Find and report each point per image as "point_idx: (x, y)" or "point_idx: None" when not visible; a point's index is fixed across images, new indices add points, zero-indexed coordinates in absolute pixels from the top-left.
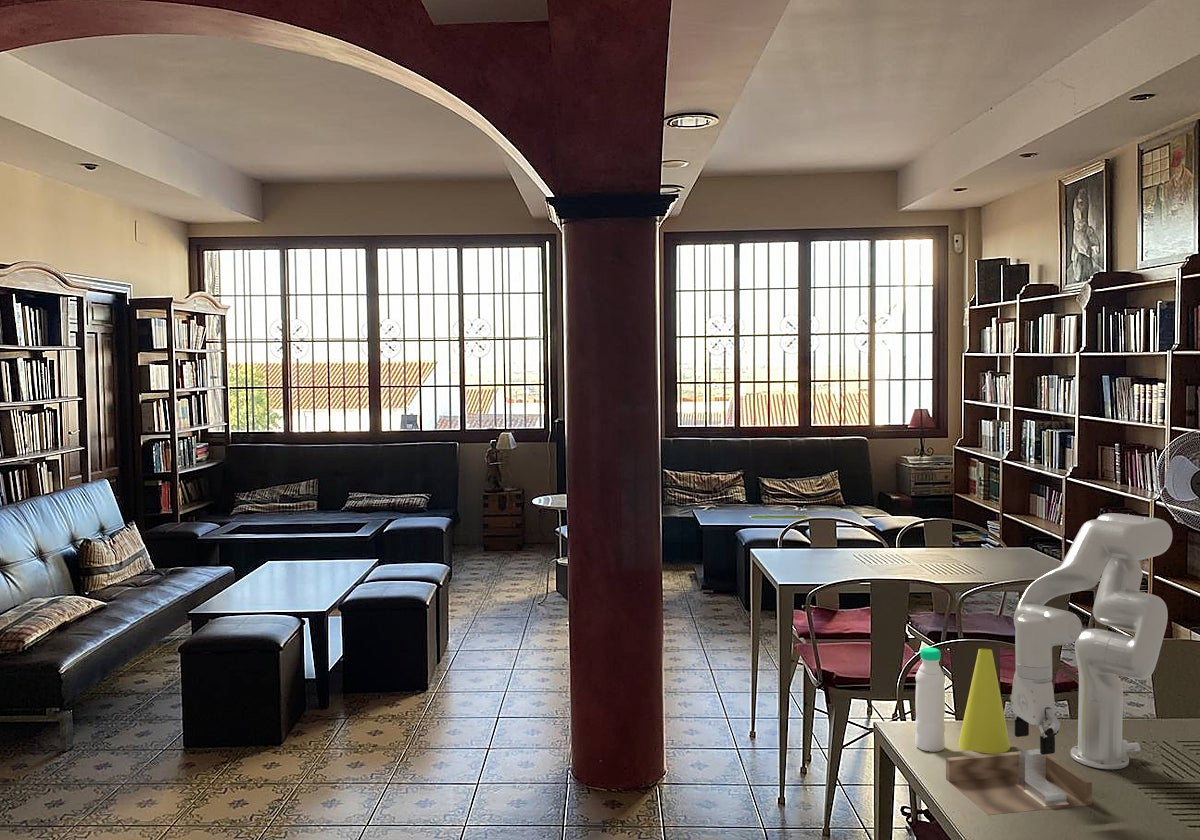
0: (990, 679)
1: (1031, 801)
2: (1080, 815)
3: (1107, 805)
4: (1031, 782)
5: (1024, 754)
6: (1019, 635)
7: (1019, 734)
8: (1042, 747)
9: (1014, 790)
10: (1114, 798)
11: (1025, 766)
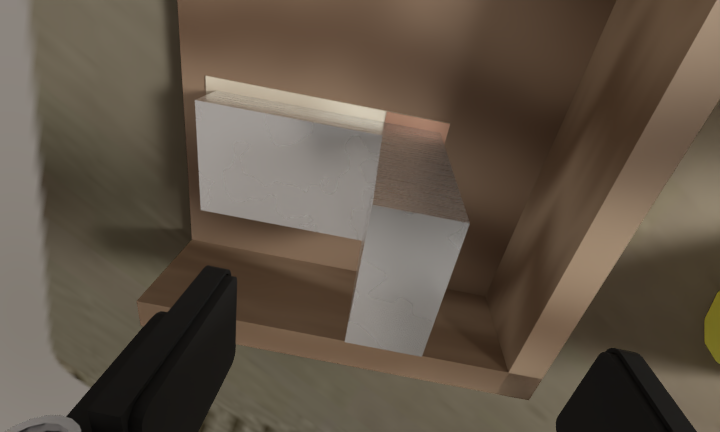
0: None
1: (271, 57)
2: (161, 182)
3: None
4: (355, 155)
5: (385, 206)
6: None
7: (602, 383)
8: (174, 312)
9: (406, 71)
10: (258, 355)
11: (378, 169)
